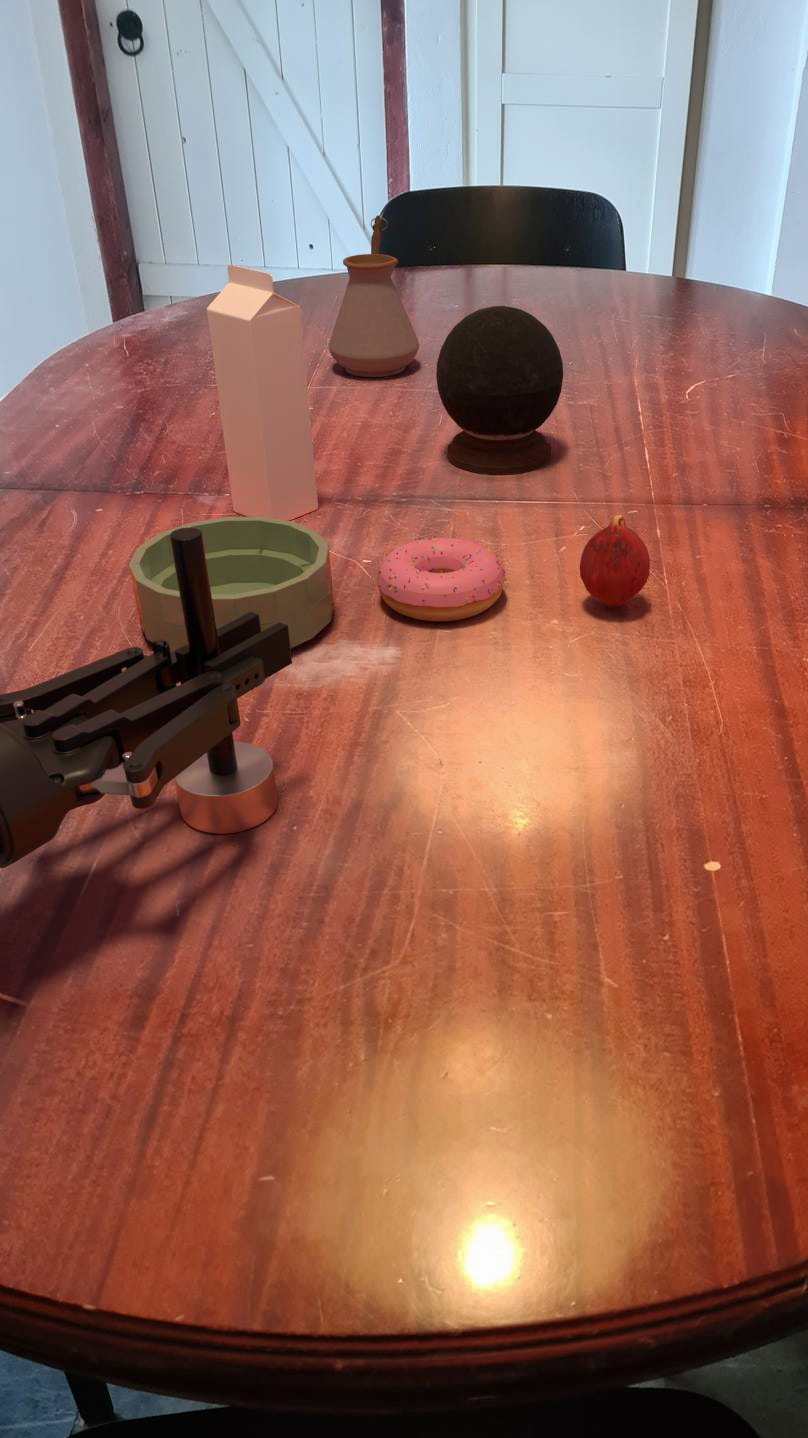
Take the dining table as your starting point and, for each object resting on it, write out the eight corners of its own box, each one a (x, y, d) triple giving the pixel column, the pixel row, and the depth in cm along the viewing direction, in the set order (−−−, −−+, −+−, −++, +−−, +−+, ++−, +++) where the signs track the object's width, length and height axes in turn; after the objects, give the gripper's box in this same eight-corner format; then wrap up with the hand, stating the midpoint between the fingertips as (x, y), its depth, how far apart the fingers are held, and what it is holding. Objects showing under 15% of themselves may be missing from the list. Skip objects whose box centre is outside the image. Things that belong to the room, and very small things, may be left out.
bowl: (105, 648, 99) (90, 579, 96) (209, 570, 111) (199, 506, 107) (274, 683, 94) (266, 612, 91) (365, 598, 106) (360, 532, 102)
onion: (643, 625, 102) (651, 533, 97) (574, 620, 102) (578, 528, 98) (648, 594, 106) (656, 504, 101) (582, 589, 107) (586, 500, 102)
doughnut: (409, 564, 111) (406, 520, 109) (523, 583, 108) (524, 538, 105) (355, 616, 103) (352, 570, 101) (478, 638, 100) (477, 591, 97)
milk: (273, 528, 118) (244, 281, 104) (232, 512, 121) (199, 270, 108) (320, 509, 122) (298, 267, 108) (279, 493, 125) (252, 257, 111)
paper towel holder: (161, 821, 80) (105, 546, 69) (213, 770, 85) (169, 505, 73) (246, 843, 78) (203, 564, 67) (295, 789, 83) (263, 520, 72)
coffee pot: (417, 382, 153) (412, 250, 144) (325, 382, 153) (314, 251, 144) (426, 334, 170) (422, 214, 161) (343, 334, 170) (335, 214, 161)
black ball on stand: (412, 456, 133) (407, 308, 124) (498, 426, 140) (498, 284, 131) (500, 488, 126) (501, 333, 116) (585, 454, 133) (592, 307, 124)
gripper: (-106, 821, 70) (198, 656, 85) (64, 921, 63) (363, 722, 78) (-148, 707, 65) (182, 554, 80) (30, 801, 58) (355, 615, 73)
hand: (270, 637), depth 79 cm, fingers closed on paper towel holder, 2 cm apart
